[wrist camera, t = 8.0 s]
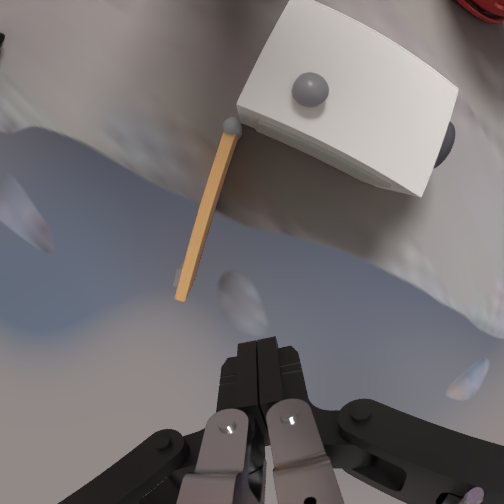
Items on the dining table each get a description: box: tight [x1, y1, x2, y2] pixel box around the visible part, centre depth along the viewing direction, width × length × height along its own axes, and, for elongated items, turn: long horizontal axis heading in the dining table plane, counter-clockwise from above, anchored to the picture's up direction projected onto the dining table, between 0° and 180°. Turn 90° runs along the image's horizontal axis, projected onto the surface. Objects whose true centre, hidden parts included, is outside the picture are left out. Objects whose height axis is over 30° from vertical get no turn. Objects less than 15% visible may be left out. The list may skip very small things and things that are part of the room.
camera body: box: [236, 0, 459, 198], centre depth 19 cm, size 9×15×9 cm, turn 67°
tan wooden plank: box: [173, 117, 242, 302], centre depth 23 cm, size 2×14×5 cm, turn 162°
